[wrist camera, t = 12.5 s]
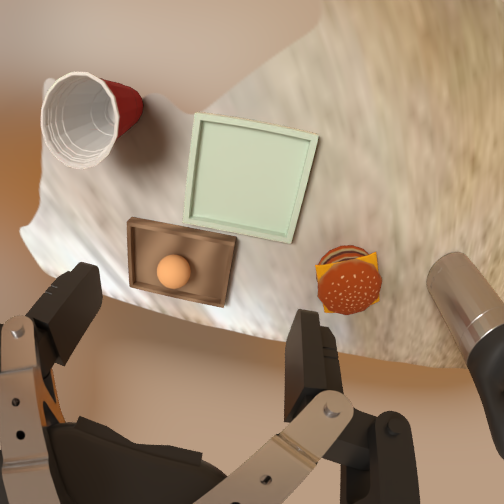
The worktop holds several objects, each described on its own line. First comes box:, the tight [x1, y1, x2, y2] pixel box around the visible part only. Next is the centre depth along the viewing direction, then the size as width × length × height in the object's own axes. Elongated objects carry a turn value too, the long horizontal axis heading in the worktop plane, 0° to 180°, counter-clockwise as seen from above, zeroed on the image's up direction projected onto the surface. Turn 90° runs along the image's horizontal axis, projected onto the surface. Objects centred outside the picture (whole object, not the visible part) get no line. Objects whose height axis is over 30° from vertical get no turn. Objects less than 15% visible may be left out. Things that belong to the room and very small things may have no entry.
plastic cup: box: [41, 72, 143, 169], centre depth 30 cm, size 11×11×12 cm
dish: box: [183, 112, 319, 244], centre depth 39 cm, size 15×15×2 cm
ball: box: [157, 254, 191, 289], centre depth 44 cm, size 5×5×5 cm
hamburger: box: [315, 245, 382, 315], centre depth 43 cm, size 9×10×7 cm
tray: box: [127, 217, 236, 308], centre depth 46 cm, size 16×12×2 cm
